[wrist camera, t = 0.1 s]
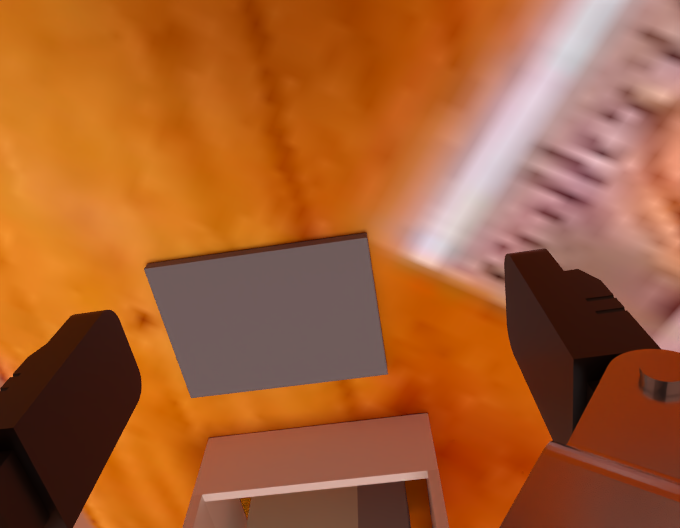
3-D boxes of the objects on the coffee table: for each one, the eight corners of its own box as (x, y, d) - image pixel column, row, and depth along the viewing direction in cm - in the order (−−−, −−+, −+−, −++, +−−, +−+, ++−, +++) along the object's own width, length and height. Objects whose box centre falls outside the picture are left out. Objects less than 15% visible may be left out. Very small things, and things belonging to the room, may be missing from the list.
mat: (147, 263, 30) (144, 269, 30) (366, 232, 29) (366, 237, 29) (193, 391, 35) (191, 398, 34) (387, 367, 34) (387, 374, 33)
